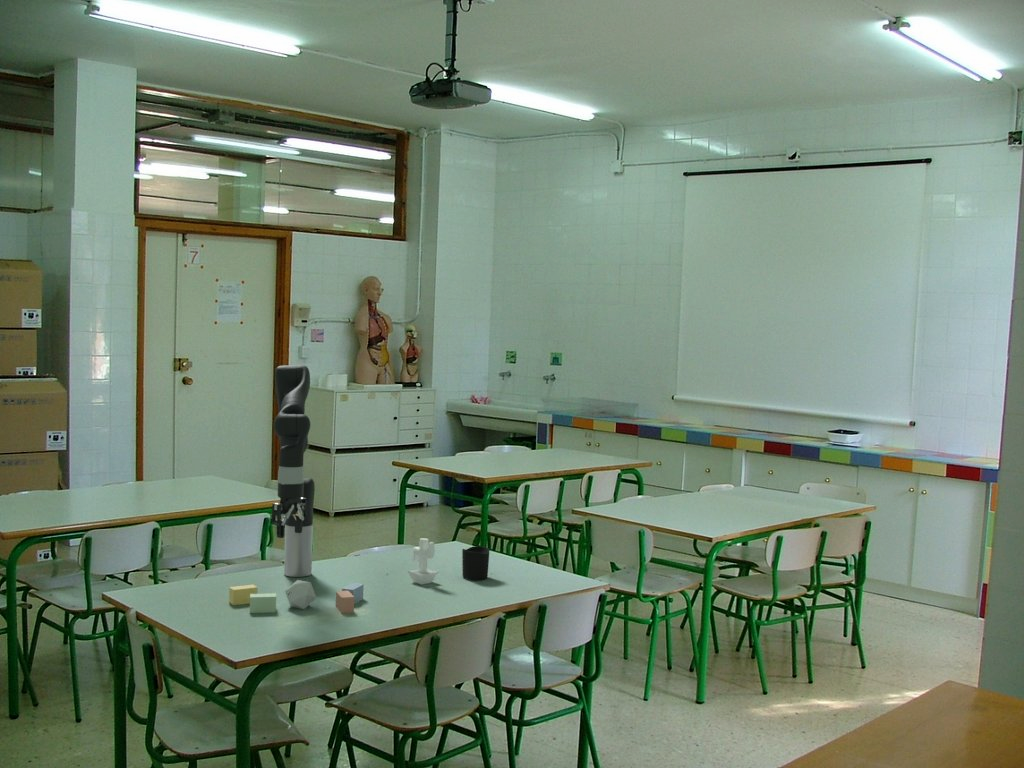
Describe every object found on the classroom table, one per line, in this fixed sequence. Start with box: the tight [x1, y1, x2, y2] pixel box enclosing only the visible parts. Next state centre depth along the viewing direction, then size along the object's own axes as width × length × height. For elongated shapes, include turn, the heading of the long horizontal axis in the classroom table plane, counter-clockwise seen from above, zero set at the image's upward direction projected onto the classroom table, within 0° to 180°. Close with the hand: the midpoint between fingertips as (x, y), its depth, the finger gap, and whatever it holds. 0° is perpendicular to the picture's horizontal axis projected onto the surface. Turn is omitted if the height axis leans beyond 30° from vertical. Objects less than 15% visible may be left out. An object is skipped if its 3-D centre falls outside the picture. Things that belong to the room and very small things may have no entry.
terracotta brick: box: [335, 590, 355, 614], centre depth 302 cm, size 4×8×5 cm, turn 23°
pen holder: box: [461, 545, 490, 581], centre depth 347 cm, size 9×9×10 cm
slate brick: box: [341, 582, 365, 605], centre depth 312 cm, size 4×8×5 cm, turn 163°
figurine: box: [407, 537, 439, 586], centre depth 338 cm, size 7×9×15 cm
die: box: [284, 579, 317, 610], centre depth 303 cm, size 8×9×10 cm
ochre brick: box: [228, 584, 258, 606], centre depth 306 cm, size 4×8×5 cm, turn 123°
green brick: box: [249, 592, 277, 614], centre depth 298 cm, size 4×8×5 cm, turn 103°
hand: (289, 535), depth 298 cm, fingers open, 8 cm apart
